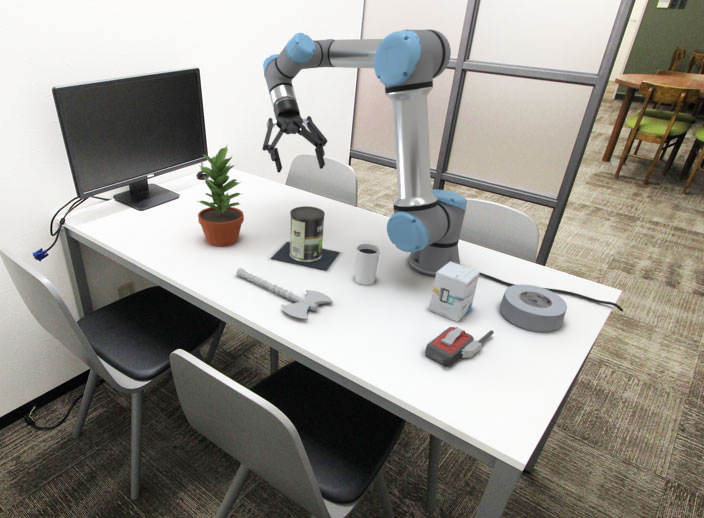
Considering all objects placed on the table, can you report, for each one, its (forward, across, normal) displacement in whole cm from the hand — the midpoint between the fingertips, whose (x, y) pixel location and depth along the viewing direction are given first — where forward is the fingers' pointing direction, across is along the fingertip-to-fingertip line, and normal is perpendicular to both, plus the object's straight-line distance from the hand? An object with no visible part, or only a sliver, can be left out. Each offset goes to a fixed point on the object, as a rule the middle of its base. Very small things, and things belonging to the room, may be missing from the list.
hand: (301, 168), depth 147 cm
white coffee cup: (+37, -10, 0) cm, 38 cm away
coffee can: (+23, 0, -13) cm, 26 cm away
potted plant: (+10, +22, -27) cm, 36 cm away
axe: (+36, +16, 0) cm, 40 cm away
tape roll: (+59, -43, +22) cm, 76 cm away
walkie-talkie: (+62, -16, +26) cm, 69 cm away
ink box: (+52, -24, +16) cm, 60 cm away
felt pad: (+23, 0, -13) cm, 27 cm away
